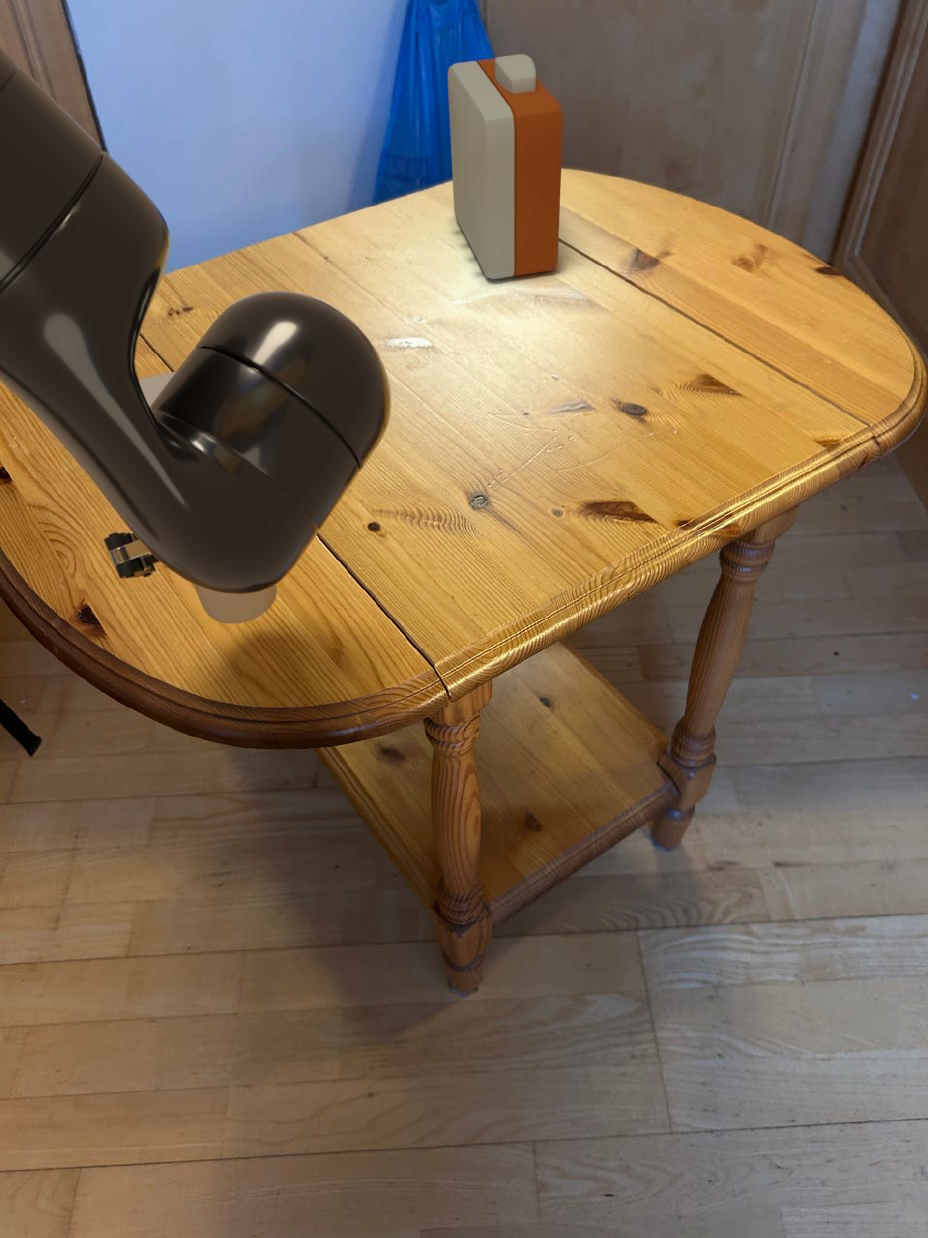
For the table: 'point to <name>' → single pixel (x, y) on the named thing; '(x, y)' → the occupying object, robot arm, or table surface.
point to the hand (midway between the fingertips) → (217, 535)
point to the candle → (236, 604)
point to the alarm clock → (506, 164)
